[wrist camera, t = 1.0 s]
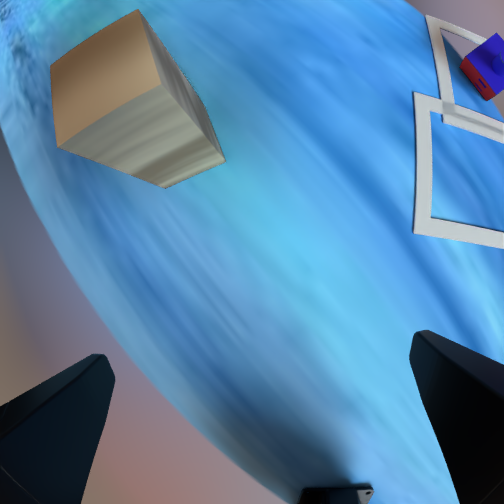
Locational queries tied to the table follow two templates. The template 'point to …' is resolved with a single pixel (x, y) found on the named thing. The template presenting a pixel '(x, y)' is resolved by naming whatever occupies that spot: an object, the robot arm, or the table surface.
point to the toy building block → (486, 67)
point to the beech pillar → (131, 106)
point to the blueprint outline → (424, 142)
